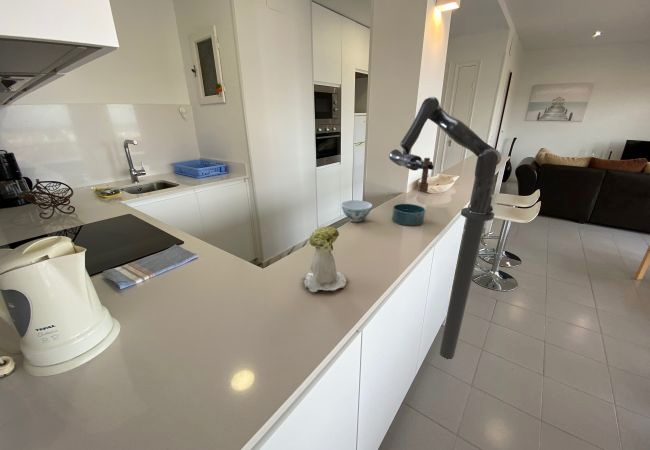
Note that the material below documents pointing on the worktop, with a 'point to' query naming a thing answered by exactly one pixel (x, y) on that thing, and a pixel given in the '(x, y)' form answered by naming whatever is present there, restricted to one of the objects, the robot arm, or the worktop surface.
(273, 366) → the worktop surface
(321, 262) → the white plant vase
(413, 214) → the bowl
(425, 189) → the pestle
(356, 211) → the chinaware
